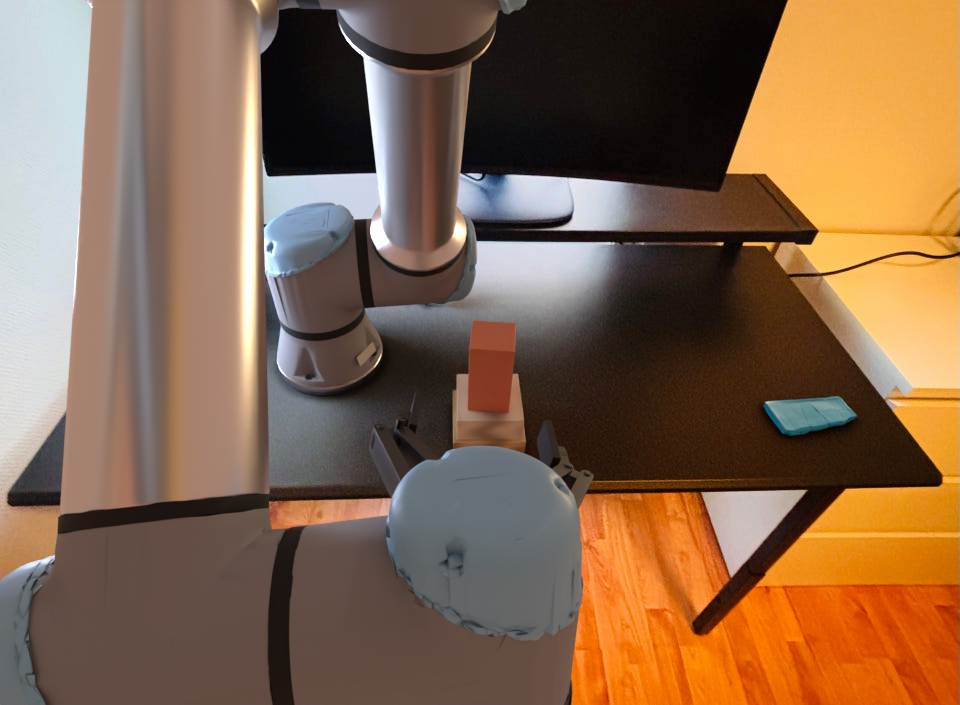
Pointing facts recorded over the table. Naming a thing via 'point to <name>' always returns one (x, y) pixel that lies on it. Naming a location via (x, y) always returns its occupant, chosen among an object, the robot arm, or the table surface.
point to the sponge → (808, 414)
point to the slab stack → (488, 421)
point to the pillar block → (491, 366)
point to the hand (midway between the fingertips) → (481, 416)
